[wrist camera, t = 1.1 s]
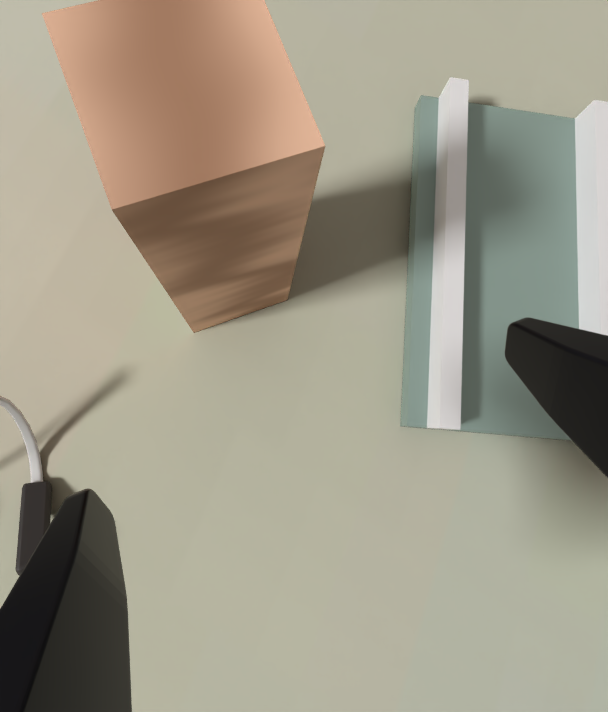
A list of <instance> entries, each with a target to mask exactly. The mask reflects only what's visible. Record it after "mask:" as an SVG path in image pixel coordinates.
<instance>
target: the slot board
mask: <svg viewBox="0 0 608 712" xmlns="http://www.w3.org/2000/svg"><path fill="white" fill-rule="evenodd" d="M468 89H469V80H465V79H459V78H452V77H450V78H449V80H448V82H447V84H446V86H445V87H444V89H443V91H442V93H441V95H440V96H439V98H436V97H429V96H423V95H421V96H420V98H419V101H418V103H417V105H416V107H415V115H414V137H413V160H412V182H411V204H410V226H409V249H408V271H407V293H406V315H405V337H404V360H403V382H402V404H401V426H404V427H416V428H428V429H439V430H451V431H463V432H475V433H487V434H499V435H511V436H523V437H535V438H547V439H559V440H570V441H572V440H571V439H570V438H569V437H568V436H567V435H566V434H565V432H564V431H563V430H562V429H561V428H560V427H559V426H558V425H557V424H556V423H555V422H554V421H553V420H552V419H551V417H550V416H549V415H548V414H547V413H546V412H545V410H544V409H543V408H542V407H541V405H540V404H539V403H538V401H537V400H536V399H535V398H534V396H533V395H532V394H531V392H530V391H529V390H528V389H527V387H526V386H525V385H524V383H523V382H522V381H521V379H520V378H519V377H518V376H517V374H516V373H515V372H514V370H513V369H512V368H511V367H510V365H509V364H508V362H507V360H506V358H505V344H506V336H507V329H508V326H509V325H510V324H511V323H512V322H515V321H518V320H520V319H523V318H526V317H530V318H534V319H539V320H543V321H547V322H551V323H556V324H560V325H564V326H569V327H573V328H577V329H582V330H586V331H590V332H594V333H599V334H603V335H607V336H608V102H605V101H599V100H594V101H593V102H592V103H591V104H590V105H589V106H588V107H586V108H585V109H584V110H583V111H582V112H581V113H580V114H579V115H578V116H577V117H576V118H575V119H574V118H567V117H561V116H554V115H548V114H541V113H535V112H528V111H521V110H515V109H508V108H502V107H495V106H489V105H482V104H475V103H469V102H468Z"/></svg>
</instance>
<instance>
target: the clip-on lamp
mask: <svg viewBox="0 0 608 712" xmlns="http://www.w3.org/2000/svg"><path fill="white" fill-rule="evenodd" d="M0 406H2V407H4V408H5V409H6V410H7V411H8V413H9V414H10V415H11V416H12V417H13V419H14V420H15V422H16V424H17V426H18V428H19V430H20V432H21V434H22V437H23V440H24V442H25V445H26V449H27V454H28V458H29V464H30V473H31V483H27V484H24V485H23V488H22V497H21V509H20V522H19V534H18V546H17V558H16V572H17V574H18V575H21V573H22V571H23V570H24V568H25V566H26V564H27V563H28V561H29V559H30V558H31V556H32V554H33V553H34V551H35V549H36V547H37V546H38V544H39V542H40V541H41V539H42V537H43V536H44V534H45V532H46V530H47V529H48V527H49V525H50V515H51V492H52V487H51V484H50V482H49V481H43V471H42V464H41V457H40V453H39V450H38V446H37V442H36V439H35V437H34V435H33V432H32V430H31V427H30V425H29V424H28V422H27V420H26V419H25V417H24V416H23V414H22V412H21V411H20V410H19V409H18V408H17V407H16V406H15V405H14V404H13V403H12V402H11V401H10V400H8V399H6V398H4V397H2V396H0Z"/></svg>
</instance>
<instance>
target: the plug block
mask: <svg viewBox="0 0 608 712" xmlns="http://www.w3.org/2000/svg"><path fill="white" fill-rule="evenodd" d="M42 15H43V17H44V20H45V23H46V26H47V29H48V32H49V34H50V37H51V40H52V43H53V46H54V48H55V51H56V54H57V57H58V60H59V62H60V65H61V68H62V71H63V74H64V76H65V79H66V82H67V85H68V88H69V91H70V93H71V96H72V99H73V102H74V105H75V107H76V110H77V113H78V116H79V119H80V121H81V124H82V127H83V130H84V133H85V135H86V138H87V141H88V144H89V147H90V150H91V152H92V155H93V158H94V161H95V164H96V166H97V169H98V172H99V175H100V178H101V180H102V183H103V186H104V189H105V192H106V194H107V197H108V200H109V203H110V206H111V209H112V211H113V212H114V214H115V215H116V217H117V218H118V220H119V221H120V223H121V224H122V226H123V227H124V229H125V230H126V232H127V233H128V235H129V236H130V238H131V239H132V241H133V242H134V244H135V245H136V247H137V248H138V250H139V251H140V253H141V254H142V256H143V257H144V259H145V260H146V262H147V263H148V265H149V266H150V268H151V269H152V271H153V272H154V274H155V275H156V277H157V278H158V280H159V281H160V283H161V284H162V286H163V287H164V289H165V290H166V292H167V293H168V295H169V296H170V298H171V299H172V301H173V302H174V304H175V305H176V307H177V308H178V310H179V311H180V313H181V314H182V316H183V317H184V319H185V320H186V322H187V323H188V325H189V326H190V328H191V329H192V331H193V332H194V333H195V332H197V331H200V330H203V329H206V328H209V327H212V326H215V325H217V324H220V323H223V322H226V321H229V320H232V319H235V318H237V317H240V316H243V315H246V314H249V313H252V312H254V311H257V310H260V309H263V308H266V307H269V306H272V305H274V304H277V303H280V302H283V301H286V300H287V299H288V295H289V291H290V287H291V283H292V279H293V275H294V271H295V267H296V263H297V259H298V255H299V251H300V247H301V242H302V238H303V234H304V230H305V226H306V222H307V218H308V214H309V210H310V206H311V202H312V198H313V194H314V190H315V186H316V181H317V177H318V173H319V169H320V165H321V161H322V157H323V153H324V149H325V144H324V142H323V139H322V137H321V134H320V132H319V130H318V127H317V125H316V123H315V120H314V118H313V115H312V113H311V111H310V108H309V106H308V103H307V101H306V99H305V96H304V94H303V92H302V89H301V87H300V84H299V82H298V80H297V77H296V75H295V72H294V70H293V68H292V65H291V63H290V61H289V58H288V56H287V53H286V51H285V49H284V46H283V44H282V41H281V39H280V37H279V34H278V32H277V30H276V27H275V25H274V22H273V20H272V18H271V15H270V13H269V10H268V8H267V6H266V3H265V1H264V0H98V1H94V2H90V3H85V4H81V5H76V6H72V7H67V8H63V9H59V10H54V11H50V12H45V13H42Z"/></svg>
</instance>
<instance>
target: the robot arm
mask: <svg viewBox="0 0 608 712" xmlns="http://www.w3.org/2000/svg"><path fill="white" fill-rule="evenodd" d="M505 358H506V360H507V362H508V364H509V365H510V367H511V368H512V369H513V370H514V372H515V373H516V374H517V376H518V377H519V378H520V379H521V381H522V382H523V383H524V385H525V386H526V387H527V389H528V390H529V391H530V392H531V394H532V395H533V396H534V398H535V399H536V400H537V401H538V403H539V404H540V405H541V407H542V408H543V409H544V410H545V412H546V413H547V414H548V415H549V416H550V417H551V419H552V420H553V421H554V422H555V423H556V424H557V425H558V426H559V427H560V428H561V429H562V430H563V431H564V432H565V434H566V435H567V436H568V437H569V438H570V439H571V440H572V441H573V442H574V443H575V444H576V445H577V446H578V447H579V448H580V449H581V450H582V451H583V452H584V453H585V454H586V456H587V457H588V458H589V459H590V460H591V461H592V462H593V463H594V464H595V465H596V466H597V467H598V468H599V469H600V470H601V471H602V472H603V473H604V474H605V475H606V476H607V478H608V336H607V335H603V334H599V333H594V332H590V331H586V330H582V329H577V328H573V327H569V326H564V325H560V324H556V323H551V322H547V321H543V320H539V319H534V318H530V317H526V318H523V319H520V320H518V321H515V322H512V323H511V324H510V325H509V326H508V329H507V336H506V344H505ZM0 712H132V705H131V680H130V655H129V631H128V608H127V596H126V589H125V582H124V576H123V570H122V564H121V557H120V551H119V545H118V539H117V533H116V527H115V521H114V518H113V515H112V513H111V512H110V510H109V509H108V508H107V506H106V505H105V504H104V503H103V502H102V500H101V499H100V498H99V497H98V495H97V494H96V493H95V492H94V491H93V490H92V489H84V490H82V491H79V492H76V493H74V494H71V495H69V496H68V497H67V498H66V499H65V500H64V501H63V503H62V505H61V507H60V508H59V510H58V512H57V513H56V515H55V517H54V518H53V520H52V522H51V524H50V525H49V527H48V529H47V530H46V532H45V534H44V536H43V537H42V539H41V541H40V542H39V544H38V546H37V547H36V549H35V551H34V553H33V554H32V556H31V558H30V559H29V561H28V563H27V564H26V566H25V568H24V570H23V571H22V573H21V575H20V576H19V578H18V580H17V581H16V583H15V585H14V587H13V588H12V590H11V592H10V593H9V595H8V597H7V598H6V600H5V602H4V604H3V605H2V607H1V609H0Z"/></svg>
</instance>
